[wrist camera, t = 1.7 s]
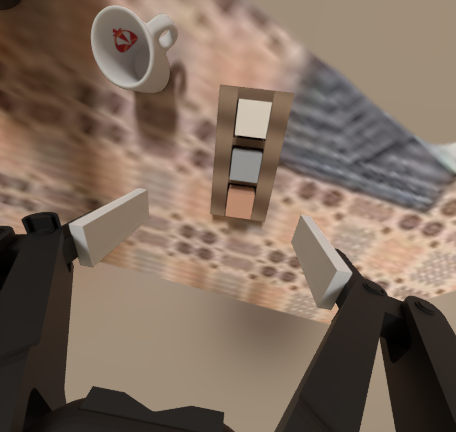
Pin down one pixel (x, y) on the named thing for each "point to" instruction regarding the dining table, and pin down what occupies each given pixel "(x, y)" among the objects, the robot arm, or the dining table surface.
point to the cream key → (252, 118)
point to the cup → (133, 49)
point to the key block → (269, 146)
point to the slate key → (245, 165)
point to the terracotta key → (240, 202)
